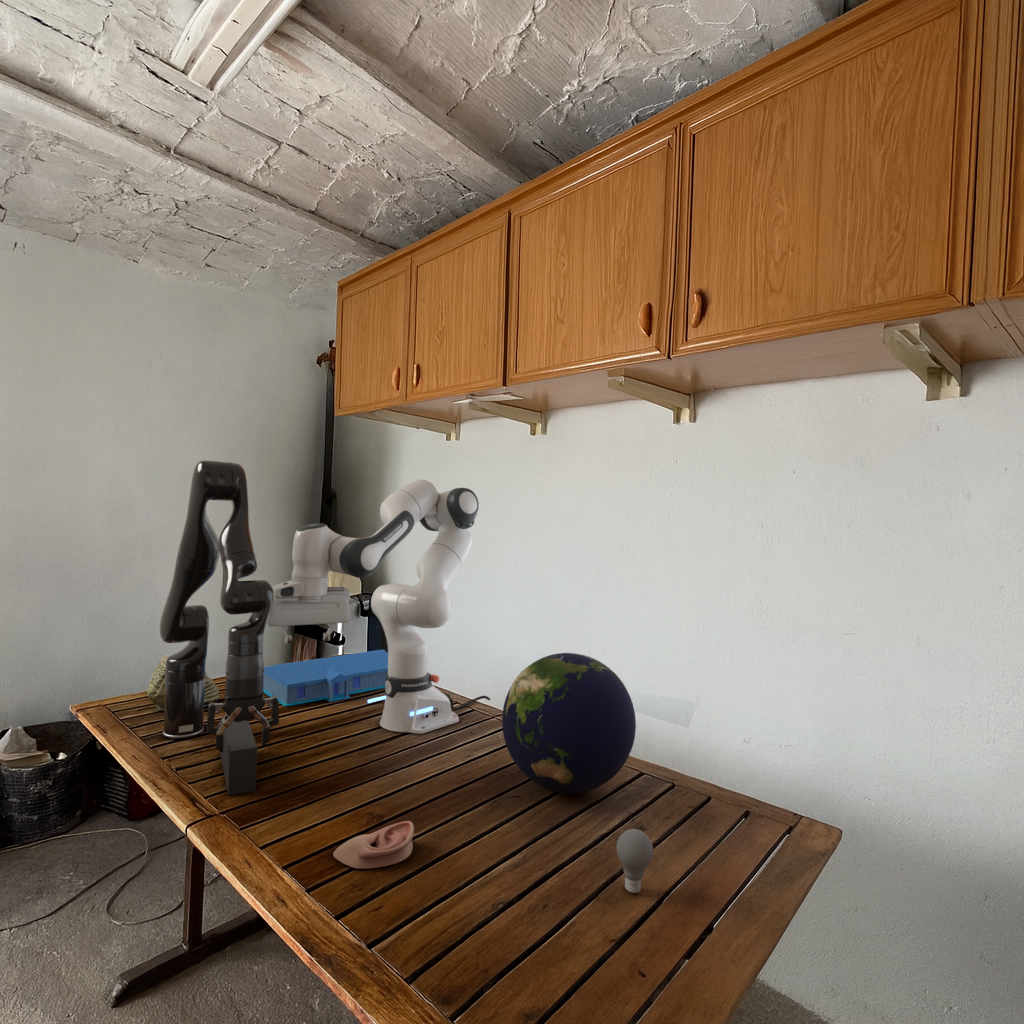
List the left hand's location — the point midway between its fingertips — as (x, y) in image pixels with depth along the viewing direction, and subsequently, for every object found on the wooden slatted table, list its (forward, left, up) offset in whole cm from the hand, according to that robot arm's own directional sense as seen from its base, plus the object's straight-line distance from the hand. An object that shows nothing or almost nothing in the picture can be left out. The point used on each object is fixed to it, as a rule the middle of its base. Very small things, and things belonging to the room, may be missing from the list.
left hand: (242, 748), depth 136 cm
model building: (-52, +49, -9) cm, 72 cm away
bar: (-8, +2, -9) cm, 12 cm away
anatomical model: (+40, +9, -9) cm, 42 cm away
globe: (+44, +56, -9) cm, 71 cm away
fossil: (-61, +6, -9) cm, 62 cm away
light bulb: (+76, +36, -9) cm, 85 cm away
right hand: (-14, +21, +18) cm, 31 cm away
